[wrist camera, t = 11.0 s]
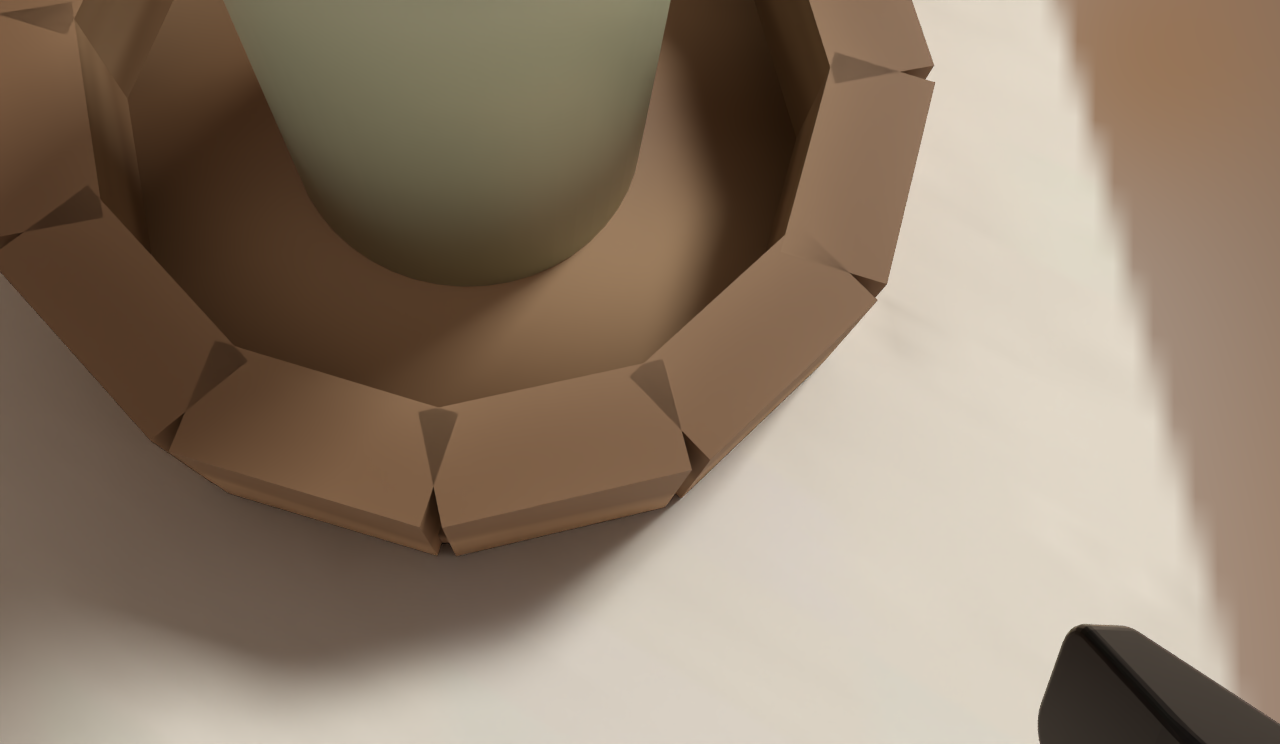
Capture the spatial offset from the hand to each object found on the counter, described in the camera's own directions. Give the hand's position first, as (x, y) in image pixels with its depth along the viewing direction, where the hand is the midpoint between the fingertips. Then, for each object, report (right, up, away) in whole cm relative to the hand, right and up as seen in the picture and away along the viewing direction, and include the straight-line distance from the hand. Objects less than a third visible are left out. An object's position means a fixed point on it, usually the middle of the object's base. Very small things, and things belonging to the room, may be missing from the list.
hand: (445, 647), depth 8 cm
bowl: (-1, +6, +11) cm, 12 cm away
